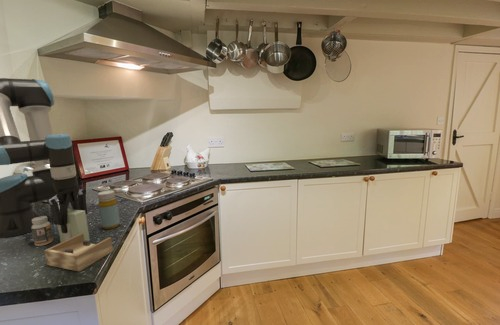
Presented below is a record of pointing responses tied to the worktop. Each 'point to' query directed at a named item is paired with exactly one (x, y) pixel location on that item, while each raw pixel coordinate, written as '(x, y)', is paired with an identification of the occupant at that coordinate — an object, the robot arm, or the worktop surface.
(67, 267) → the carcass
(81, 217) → the door
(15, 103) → the robot arm
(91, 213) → the worktop surface
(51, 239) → the pill bottle
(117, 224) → the bottle
